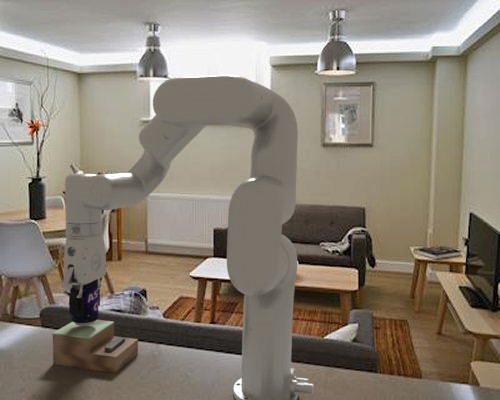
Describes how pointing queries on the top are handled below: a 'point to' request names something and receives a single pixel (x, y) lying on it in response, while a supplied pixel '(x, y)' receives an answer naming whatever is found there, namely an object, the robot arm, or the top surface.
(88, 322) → the beverage can
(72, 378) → the top surface
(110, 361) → the stand
